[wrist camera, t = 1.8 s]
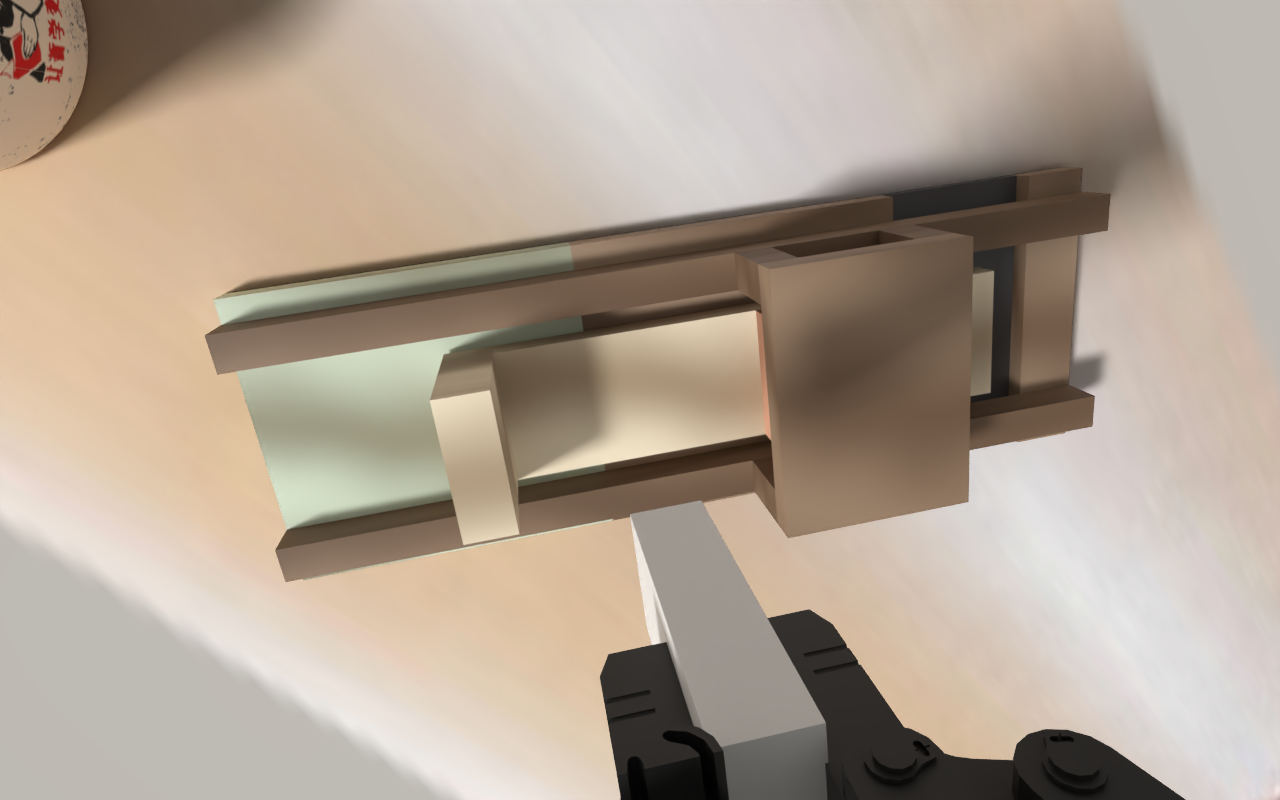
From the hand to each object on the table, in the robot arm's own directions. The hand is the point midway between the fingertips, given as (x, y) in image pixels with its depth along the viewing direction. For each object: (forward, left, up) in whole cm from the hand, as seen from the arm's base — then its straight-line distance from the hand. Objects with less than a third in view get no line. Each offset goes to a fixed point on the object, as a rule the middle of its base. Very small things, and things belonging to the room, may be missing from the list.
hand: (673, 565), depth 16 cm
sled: (0, +4, -11) cm, 12 cm away
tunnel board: (0, +3, -12) cm, 13 cm away
